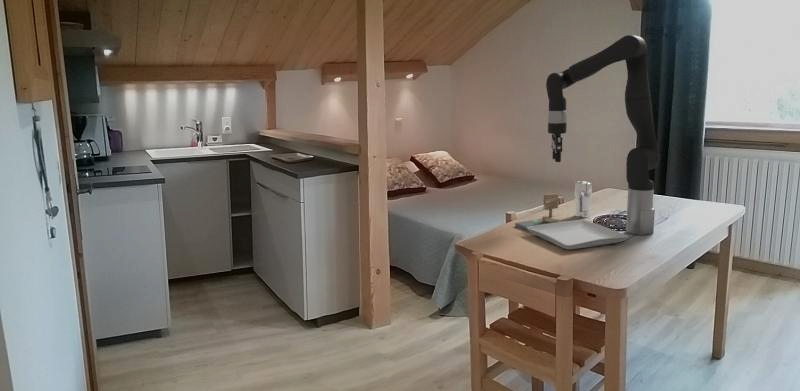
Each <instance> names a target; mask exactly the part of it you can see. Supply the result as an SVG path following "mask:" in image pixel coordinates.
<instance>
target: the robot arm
mask: <svg viewBox="0 0 800 391" xmlns="http://www.w3.org/2000/svg"><path fill="white" fill-rule="evenodd" d="M647 58H648V48H647V43H646V41H645V39H644V38H642V37H641V36H639V35H634V34H627V35H623V37H621V38H619V39H618V40H616V41H615V42H613V43H612V44H611V45H609V46H607V47H605V48H604V49H603V50H600V51H599V52H597V53H596V54H595V53H594V54H593V55H591V56H589V57H586V58H585V59H582V60H580V61H577V62H576V63H574V64H572V65H571V66H569V67H568V68H567V69H565V70H563V71H560V72H552V73H550V74H549V75H548V76H547V78H546V82H545V87H546V93H547V98H548V113H547V133H548V134H551V150H552V160H554V162H556V163H561V162H562V152H563V137H562V134H566V133H567V122H568V120H567V119H568V118H567V116H568V115H567V114H568V113H567V98H566V96H564V92H563V90H564V89H567V88H569V87H571V86H572V85H574V84H576V83H578V82H580V81H583V80H585V79H587V78H590V77H592V76H593V75H596V74H597V73H598V72H600V71H601V70H603V69H604V68H606V67H608V66H610V65H612V64H614V63H619V62H621V61H625V63H626V64H625V65H626V71H627V73H626V74H627V80H626V85H625V91H624V104H625V111H626V112H625V113H626V115H627V118H628V120H629V122H630V124H631V125H632V127H633V129H634V131H635V133H636V137H637V143H638V145H637V146H638V147H635V148H632V149H630V150H629V152H628V153H627V157H626V165H625V166H626V167H625V168H626V169H625V170H626V182H627V185H628V186H627V204H626V222H625V223H626V227H625V231H626V232H627V233H629V234H633V235H639V236H645V235H650V234H654V231H655V230H654V227H655V215H656V214H655V212H656V209H655V208H654V193H655V190H654V189H655V182H654V181H653V180H651V179H650V178H649V171H652V170H653V169H656V168H657V167H658V166H659V163H660V159H661V158H660V150H659V146H658V142H657V141H658V140H657V138H656V136H657V135H656V133H655V125H654V115H653V106H652V96H651V89H650V82H649V76H648V59H647Z"/></svg>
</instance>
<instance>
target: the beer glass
mask: <svg viewBox="0 0 800 391" xmlns="http://www.w3.org/2000/svg"><path fill="white" fill-rule="evenodd" d="M592 189H593V187H592V181H590V180H575V185H574V199H575V211H574V212H575V213H574V216H575V217H576V218H589V217H590V209H589V208H590V203H591V197H592V191H593V190H592Z"/></svg>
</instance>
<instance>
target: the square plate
mask: <svg viewBox="0 0 800 391" xmlns="http://www.w3.org/2000/svg"><path fill="white" fill-rule="evenodd" d="M563 221H564V220H563ZM526 228H527V229H528V230H529V231H528V232H529V233H531V234H532V235H535V236H537V237H539V238H540V239H542V240H545V241H547V242H548V243H549V242H550V243H551V244H553V245H556V246H557V247H560V248H563V249H565V250H577V249H585V248H592V247H598V246H606V245H610V244H617V243H621V242H624V241H625V240H626V239H628V238H629V235H627V234H625V233H622V232H619V231H617V230H615V229H612V228H610V227H606V226H603V225H600V224H598V223H595V222H591V221H589V220H585V219H578V220H577V219H575V220H566V221H564V222H556V223H549V224H542V225H536V226H530V227H526Z"/></svg>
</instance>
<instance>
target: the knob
mask: <svg viewBox="0 0 800 391" xmlns="http://www.w3.org/2000/svg"><path fill="white" fill-rule="evenodd" d="M542 208H543V210H545V211H548V214H547V215H543V216H542V217H541V219H542V221H540V222H534V223H535V224H537V223H543V222H544V223H556V222H558V220H560V219H559V216H557V215H553V210H556V209H559V193H557V192H551V193H547V194H546V193H545V194H543V207H542Z"/></svg>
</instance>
